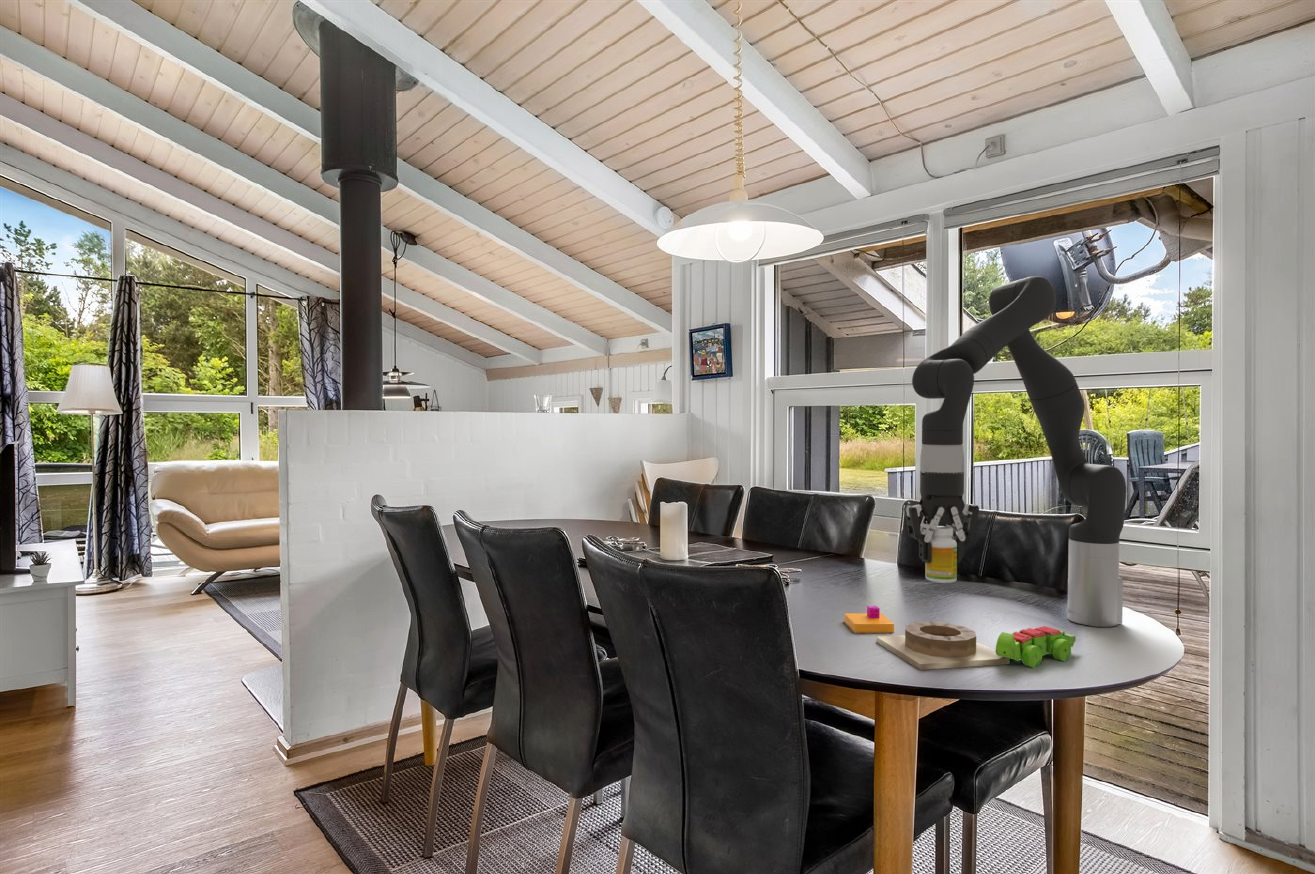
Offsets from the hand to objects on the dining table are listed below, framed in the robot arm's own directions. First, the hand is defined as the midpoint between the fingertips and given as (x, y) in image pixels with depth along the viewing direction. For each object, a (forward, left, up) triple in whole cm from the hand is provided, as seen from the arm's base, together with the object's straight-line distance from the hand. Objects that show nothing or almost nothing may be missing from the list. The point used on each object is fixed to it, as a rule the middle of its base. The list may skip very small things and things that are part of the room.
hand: (941, 561), depth 136 cm
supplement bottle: (0, 0, -4) cm, 4 cm away
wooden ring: (0, 0, -16) cm, 16 cm away
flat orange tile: (+5, -18, -18) cm, 26 cm away
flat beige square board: (0, 0, -17) cm, 17 cm away
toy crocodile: (-15, +6, -17) cm, 23 cm away
